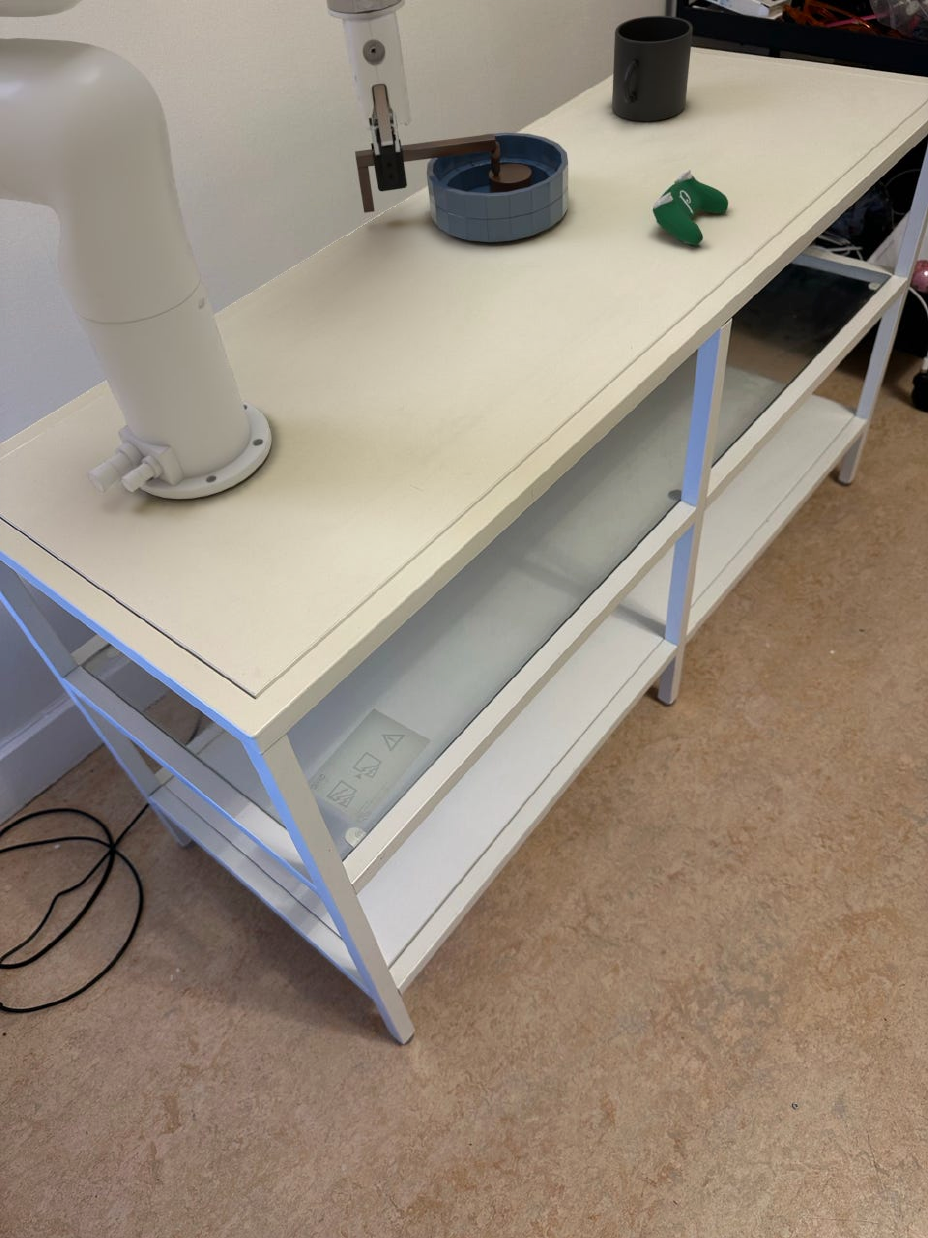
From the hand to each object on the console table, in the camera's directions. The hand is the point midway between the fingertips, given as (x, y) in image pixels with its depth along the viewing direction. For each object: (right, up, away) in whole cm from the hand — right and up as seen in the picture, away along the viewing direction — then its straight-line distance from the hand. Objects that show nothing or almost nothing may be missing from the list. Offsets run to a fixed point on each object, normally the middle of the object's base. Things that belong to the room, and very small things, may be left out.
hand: (391, 182), depth 100 cm
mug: (+31, +18, +17) cm, 40 cm away
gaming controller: (+32, -6, -2) cm, 33 cm away
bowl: (+12, -2, +3) cm, 13 cm away
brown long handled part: (+6, -1, +2) cm, 7 cm away
